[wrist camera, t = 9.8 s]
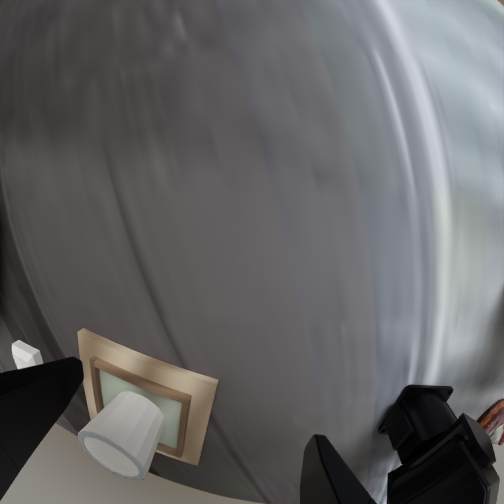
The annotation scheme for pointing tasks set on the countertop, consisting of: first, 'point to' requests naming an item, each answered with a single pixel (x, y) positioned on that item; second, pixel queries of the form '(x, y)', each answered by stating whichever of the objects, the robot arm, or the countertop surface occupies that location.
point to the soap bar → (25, 355)
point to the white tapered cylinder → (124, 435)
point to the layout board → (150, 392)
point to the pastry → (494, 422)
